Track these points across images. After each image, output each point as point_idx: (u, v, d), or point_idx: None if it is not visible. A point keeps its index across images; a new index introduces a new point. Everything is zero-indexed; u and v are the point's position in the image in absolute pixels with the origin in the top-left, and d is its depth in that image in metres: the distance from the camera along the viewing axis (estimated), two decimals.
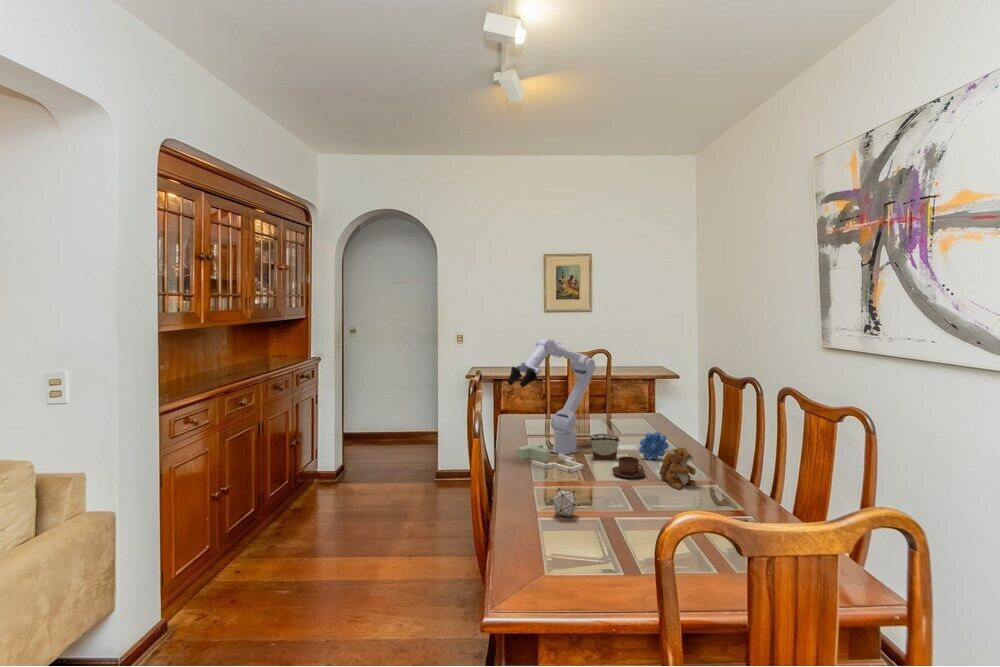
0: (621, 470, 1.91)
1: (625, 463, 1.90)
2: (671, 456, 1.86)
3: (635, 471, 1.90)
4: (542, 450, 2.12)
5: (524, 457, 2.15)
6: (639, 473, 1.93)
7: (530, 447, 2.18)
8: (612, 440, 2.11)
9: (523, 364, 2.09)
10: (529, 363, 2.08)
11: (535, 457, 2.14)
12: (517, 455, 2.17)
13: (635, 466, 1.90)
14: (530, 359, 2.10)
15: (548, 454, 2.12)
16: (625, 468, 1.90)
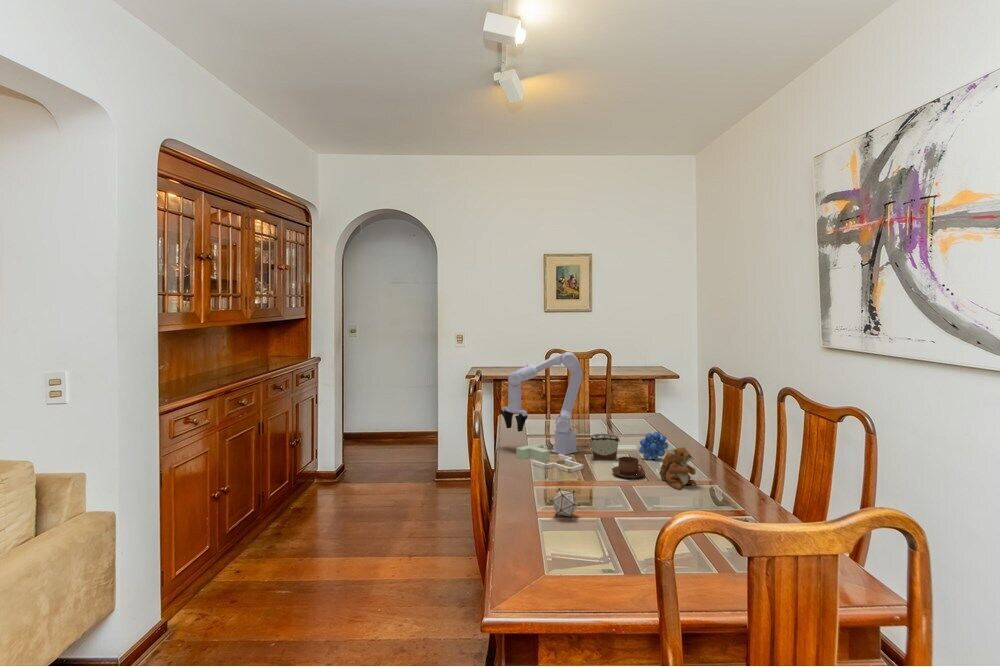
0: (621, 470, 1.91)
1: (625, 463, 1.90)
2: (671, 456, 1.85)
3: (635, 471, 1.90)
4: (542, 450, 2.12)
5: (524, 457, 2.15)
6: (639, 473, 1.93)
7: (530, 447, 2.18)
8: (612, 440, 2.11)
9: None
10: (513, 407, 2.23)
11: (535, 457, 2.14)
12: (517, 455, 2.17)
13: (635, 466, 1.90)
14: (511, 403, 2.24)
15: (548, 454, 2.12)
16: (625, 468, 1.90)
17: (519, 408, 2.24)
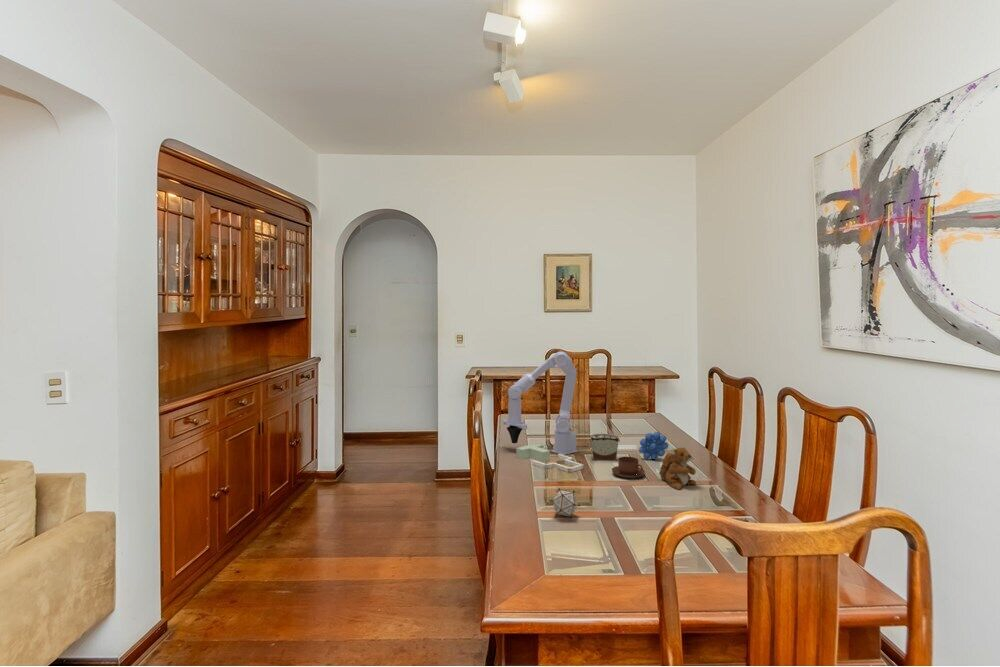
0: (621, 470, 1.91)
1: (625, 463, 1.90)
2: (671, 456, 1.85)
3: (635, 471, 1.90)
4: (542, 450, 2.12)
5: (524, 457, 2.15)
6: (639, 473, 1.93)
7: (530, 447, 2.18)
8: (612, 440, 2.11)
9: (509, 424, 2.25)
10: (513, 421, 2.24)
11: (534, 457, 2.14)
12: (517, 455, 2.17)
13: (635, 466, 1.90)
14: (511, 417, 2.24)
15: (548, 454, 2.12)
16: (625, 468, 1.90)
17: (519, 421, 2.25)
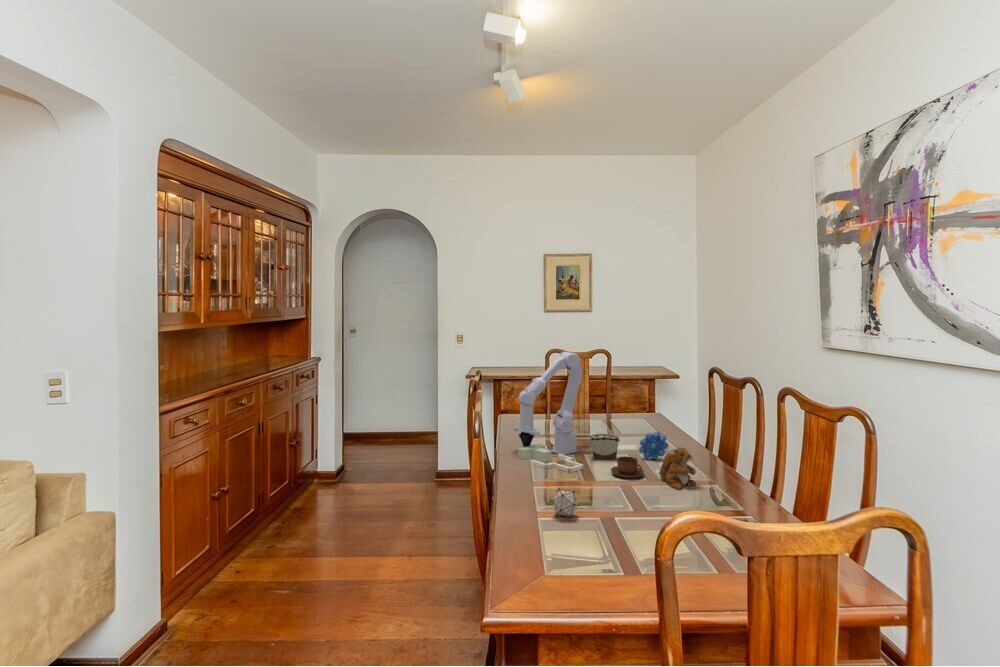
0: (620, 470, 1.91)
1: (624, 463, 1.90)
2: (671, 456, 1.85)
3: (634, 471, 1.90)
4: (543, 451, 2.12)
5: (526, 457, 2.14)
6: (638, 473, 1.93)
7: (532, 447, 2.17)
8: (612, 440, 2.11)
9: (521, 431, 2.19)
10: (525, 428, 2.18)
11: (536, 458, 2.13)
12: (519, 455, 2.16)
13: (634, 466, 1.90)
14: (523, 423, 2.18)
15: (550, 454, 2.11)
16: (624, 468, 1.90)
17: (531, 428, 2.19)
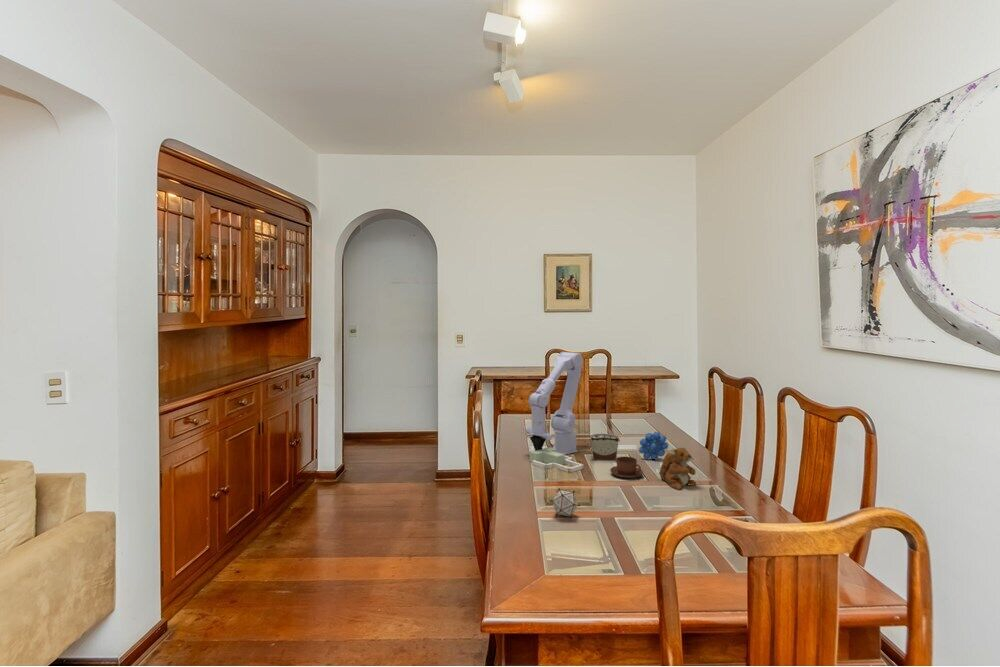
0: (619, 470, 1.91)
1: (623, 463, 1.90)
2: (671, 456, 1.85)
3: (633, 471, 1.90)
4: (556, 455, 2.06)
5: (538, 461, 2.08)
6: (637, 473, 1.93)
7: (544, 451, 2.11)
8: (612, 440, 2.11)
9: (533, 434, 2.13)
10: (537, 431, 2.12)
11: (549, 461, 2.07)
12: (530, 459, 2.10)
13: (633, 466, 1.89)
14: (535, 426, 2.12)
15: (563, 458, 2.06)
16: (623, 468, 1.90)
17: (543, 431, 2.13)
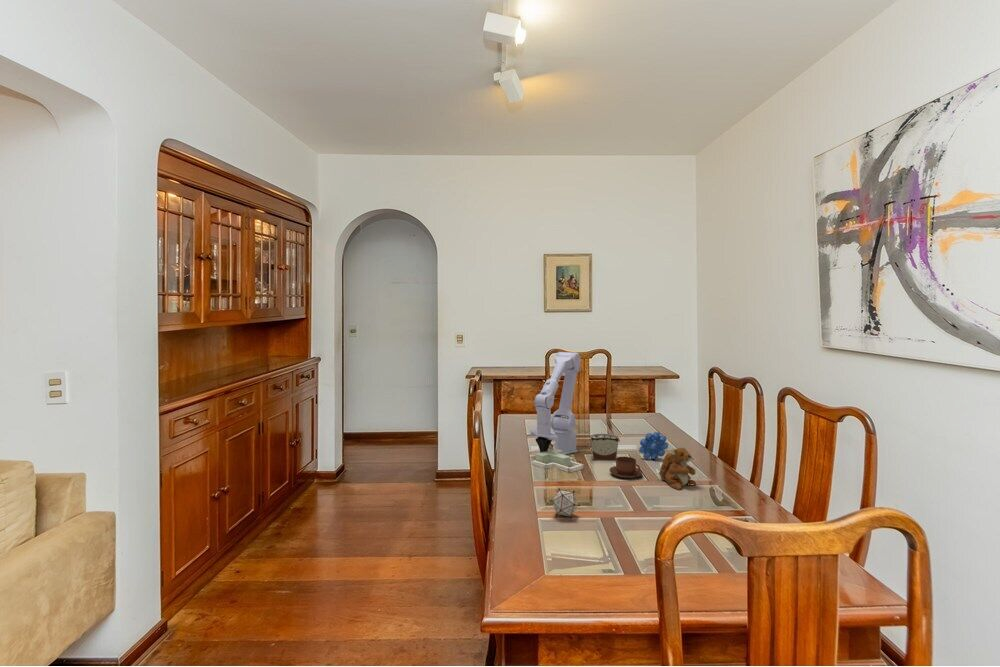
0: (618, 470, 1.91)
1: (622, 463, 1.89)
2: (671, 456, 1.85)
3: (632, 471, 1.89)
4: (562, 456, 2.03)
5: None
6: (636, 473, 1.93)
7: (549, 453, 2.09)
8: (612, 440, 2.11)
9: None
10: (542, 432, 2.10)
11: None
12: None
13: (632, 466, 1.89)
14: (541, 427, 2.10)
15: (569, 460, 2.03)
16: (622, 468, 1.90)
17: (549, 432, 2.10)
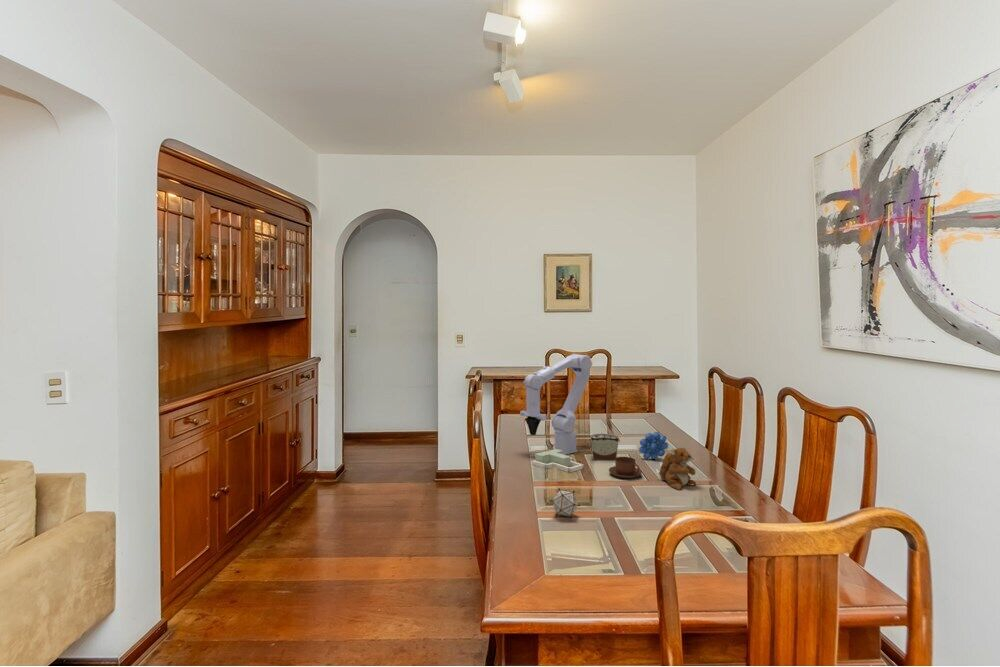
0: (617, 470, 1.91)
1: (621, 463, 1.89)
2: (671, 456, 1.85)
3: (631, 471, 1.89)
4: (562, 456, 2.03)
5: None
6: (636, 473, 1.93)
7: (549, 453, 2.09)
8: (612, 440, 2.11)
9: (527, 415, 2.15)
10: (532, 412, 2.14)
11: None
12: None
13: (632, 466, 1.89)
14: (530, 407, 2.15)
15: (569, 460, 2.03)
16: (621, 468, 1.90)
17: (538, 412, 2.15)
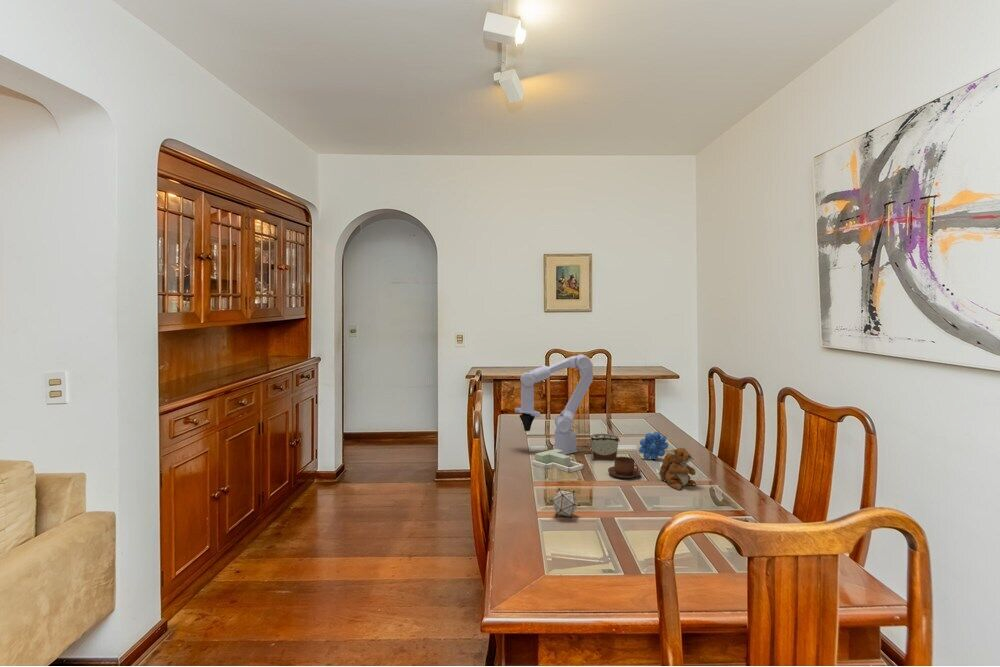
0: (617, 470, 1.91)
1: (620, 463, 1.89)
2: (671, 456, 1.85)
3: (630, 471, 1.89)
4: (562, 456, 2.03)
5: None
6: (635, 473, 1.93)
7: (549, 453, 2.09)
8: (612, 440, 2.11)
9: (522, 412, 2.22)
10: (526, 409, 2.22)
11: None
12: None
13: (631, 466, 1.89)
14: (524, 404, 2.22)
15: (569, 460, 2.03)
16: (620, 468, 1.90)
17: (532, 409, 2.23)
